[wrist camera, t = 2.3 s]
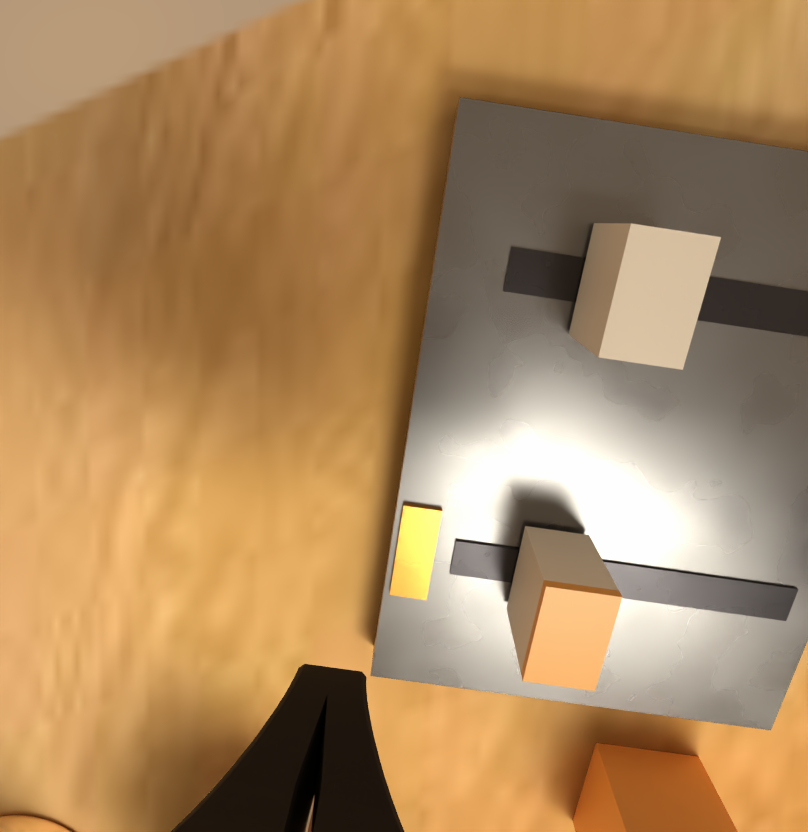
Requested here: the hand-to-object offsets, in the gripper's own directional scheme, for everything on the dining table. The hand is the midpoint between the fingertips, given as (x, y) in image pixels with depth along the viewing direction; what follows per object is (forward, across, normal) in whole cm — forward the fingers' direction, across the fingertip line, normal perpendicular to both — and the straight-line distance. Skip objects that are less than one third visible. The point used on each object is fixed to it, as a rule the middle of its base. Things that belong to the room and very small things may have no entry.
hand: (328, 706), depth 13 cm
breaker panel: (+8, -8, -4) cm, 12 cm away
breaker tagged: (+7, -6, 0) cm, 9 cm away
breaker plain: (+7, -6, -9) cm, 13 cm away
